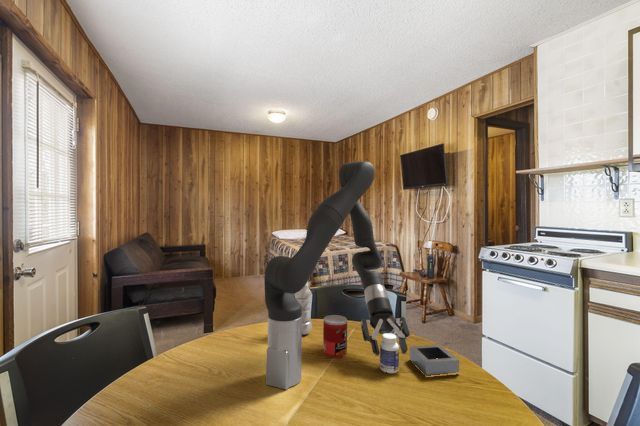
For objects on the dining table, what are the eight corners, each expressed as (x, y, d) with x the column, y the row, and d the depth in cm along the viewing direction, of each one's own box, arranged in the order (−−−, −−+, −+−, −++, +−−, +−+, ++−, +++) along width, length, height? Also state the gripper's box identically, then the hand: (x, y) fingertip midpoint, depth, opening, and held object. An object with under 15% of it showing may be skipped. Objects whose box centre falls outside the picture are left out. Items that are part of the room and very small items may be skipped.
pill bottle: (399, 375, 84) (399, 340, 84) (379, 372, 85) (380, 338, 85) (398, 365, 89) (398, 333, 89) (379, 363, 90) (380, 331, 90)
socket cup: (459, 375, 84) (459, 360, 84) (426, 378, 82) (426, 362, 82) (439, 358, 94) (439, 344, 94) (409, 361, 92) (409, 346, 92)
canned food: (338, 360, 91) (339, 325, 91) (318, 353, 96) (318, 319, 96) (351, 351, 98) (351, 318, 98) (331, 345, 102) (332, 313, 102)
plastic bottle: (290, 334, 110) (291, 281, 111) (300, 328, 116) (300, 277, 117) (305, 338, 107) (306, 283, 108) (314, 332, 113) (315, 279, 114)
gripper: (358, 296, 93) (370, 350, 82) (401, 295, 95) (419, 347, 84) (354, 308, 98) (364, 360, 87) (395, 306, 100) (410, 357, 89)
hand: (391, 353), depth 85 cm, fingers open, 7 cm apart
